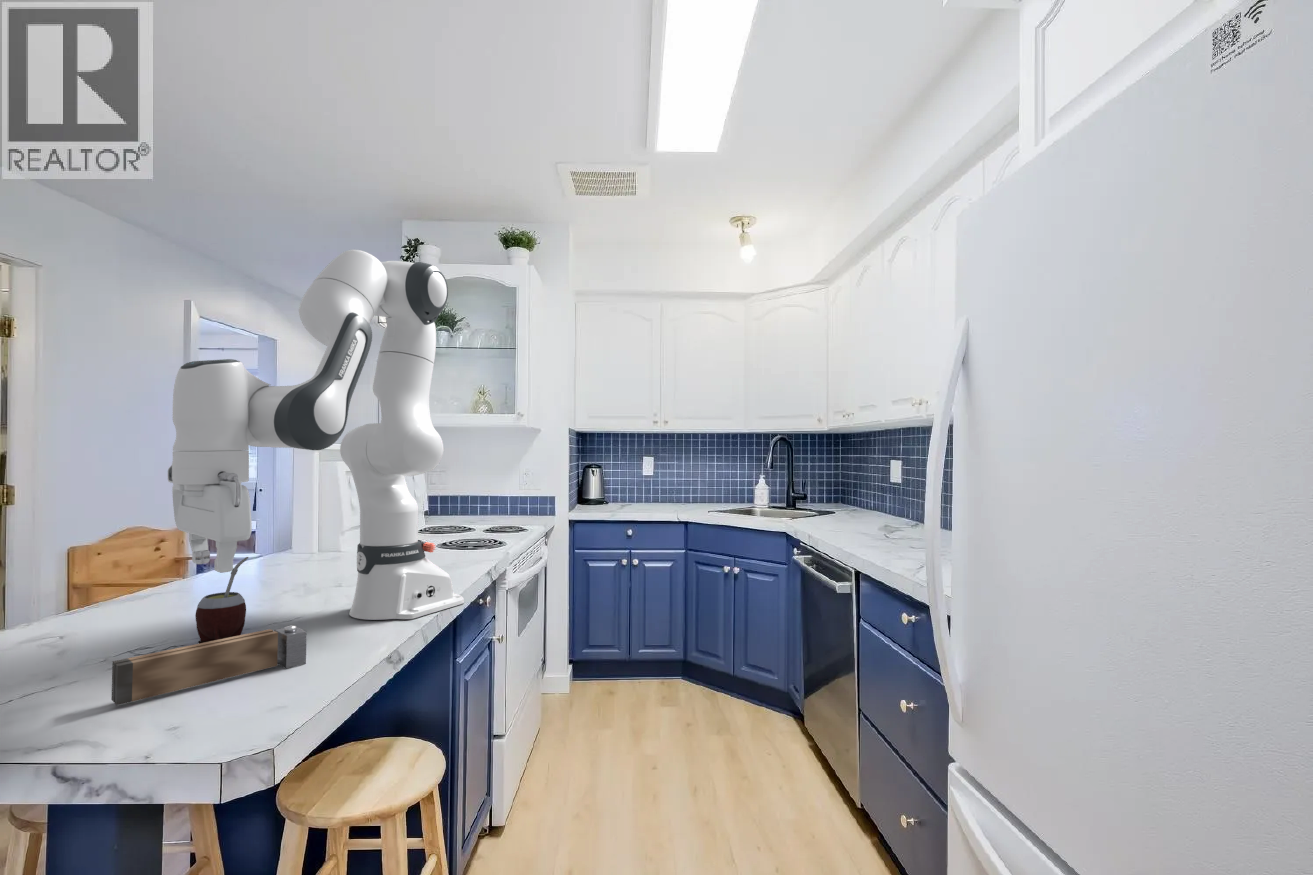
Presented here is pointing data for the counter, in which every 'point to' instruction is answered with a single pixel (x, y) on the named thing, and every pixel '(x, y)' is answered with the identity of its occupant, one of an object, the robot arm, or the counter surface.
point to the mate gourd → (221, 613)
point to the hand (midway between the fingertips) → (212, 567)
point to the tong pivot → (291, 646)
